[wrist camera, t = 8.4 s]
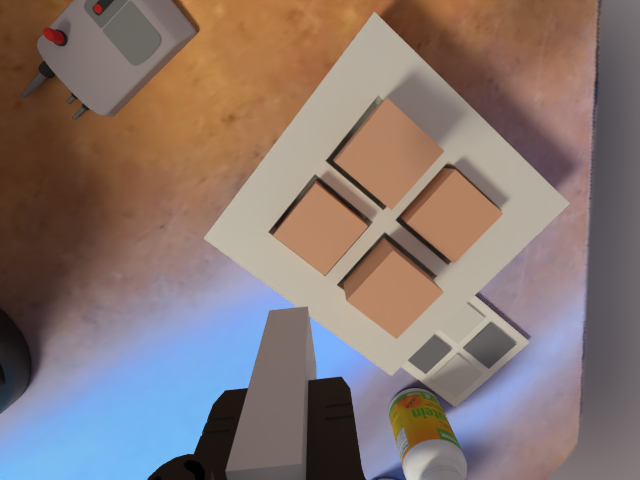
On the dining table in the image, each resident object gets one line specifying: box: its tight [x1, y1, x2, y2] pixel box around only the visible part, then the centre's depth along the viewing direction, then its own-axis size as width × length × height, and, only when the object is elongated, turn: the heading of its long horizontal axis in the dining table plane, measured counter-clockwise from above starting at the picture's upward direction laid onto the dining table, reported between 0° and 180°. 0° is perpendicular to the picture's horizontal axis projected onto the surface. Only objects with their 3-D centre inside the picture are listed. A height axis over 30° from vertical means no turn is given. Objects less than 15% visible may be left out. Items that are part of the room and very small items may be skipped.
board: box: [204, 12, 570, 376], centre depth 27 cm, size 20×20×4 cm
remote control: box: [21, 0, 197, 120], centre depth 25 cm, size 7×16×3 cm, turn 129°
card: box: [401, 296, 529, 407], centre depth 32 cm, size 10×10×1 cm
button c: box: [333, 98, 444, 210], centre depth 23 cm, size 5×5×3 cm
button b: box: [343, 238, 444, 339], centre depth 26 cm, size 5×5×3 cm
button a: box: [399, 168, 503, 263], centre depth 26 cm, size 5×5×3 cm
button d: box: [273, 179, 368, 275], centre depth 26 cm, size 5×5×3 cm
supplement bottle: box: [389, 388, 467, 480], centre depth 30 cm, size 5×5×10 cm
